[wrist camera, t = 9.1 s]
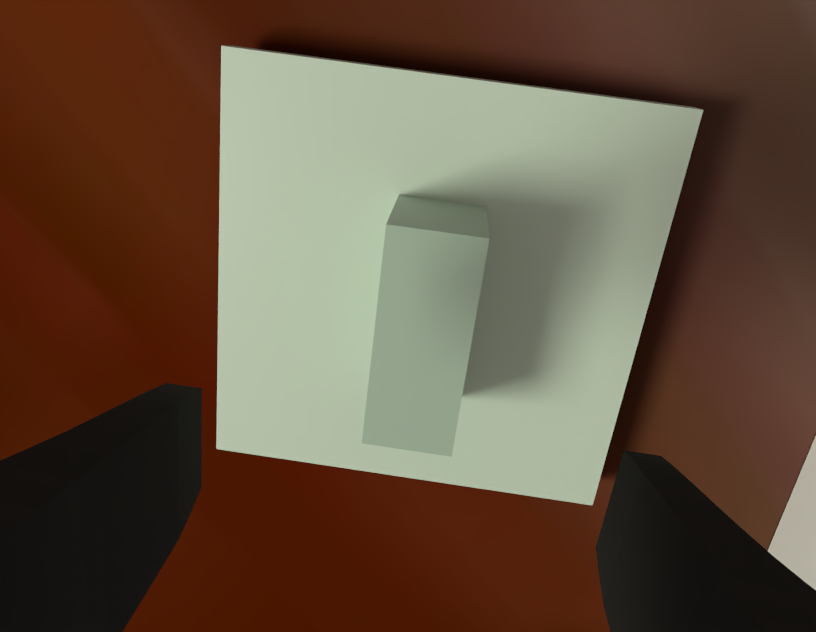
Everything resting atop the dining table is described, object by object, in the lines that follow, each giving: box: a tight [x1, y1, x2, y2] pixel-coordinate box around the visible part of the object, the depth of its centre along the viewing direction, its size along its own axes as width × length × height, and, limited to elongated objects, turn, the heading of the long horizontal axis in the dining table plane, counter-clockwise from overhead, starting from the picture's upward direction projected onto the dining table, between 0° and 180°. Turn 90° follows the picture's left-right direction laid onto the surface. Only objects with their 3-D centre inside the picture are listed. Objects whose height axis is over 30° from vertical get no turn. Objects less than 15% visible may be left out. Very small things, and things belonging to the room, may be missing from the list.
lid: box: [216, 45, 703, 505], centre depth 19 cm, size 12×12×5 cm
